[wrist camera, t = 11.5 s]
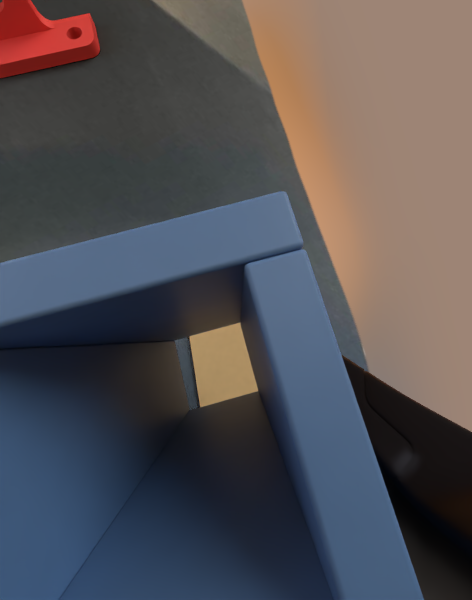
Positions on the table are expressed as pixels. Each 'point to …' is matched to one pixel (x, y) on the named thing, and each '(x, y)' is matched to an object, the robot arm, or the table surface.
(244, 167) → the table surface
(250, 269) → the sleeve
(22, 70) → the bracket
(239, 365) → the mat
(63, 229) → the table surface
